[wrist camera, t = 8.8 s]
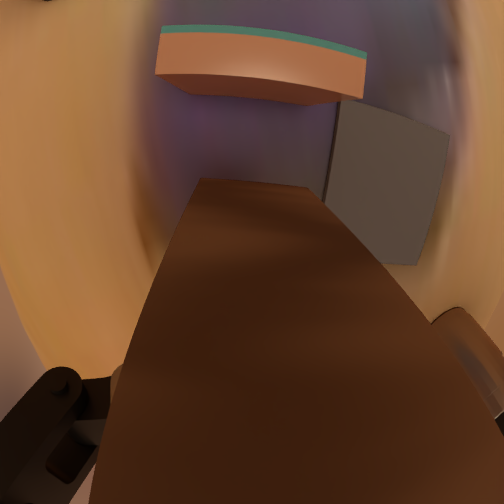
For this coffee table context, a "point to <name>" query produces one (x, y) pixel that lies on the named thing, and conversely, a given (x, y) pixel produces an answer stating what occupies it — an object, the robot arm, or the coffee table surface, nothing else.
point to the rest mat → (385, 179)
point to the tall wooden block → (288, 372)
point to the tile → (259, 64)
